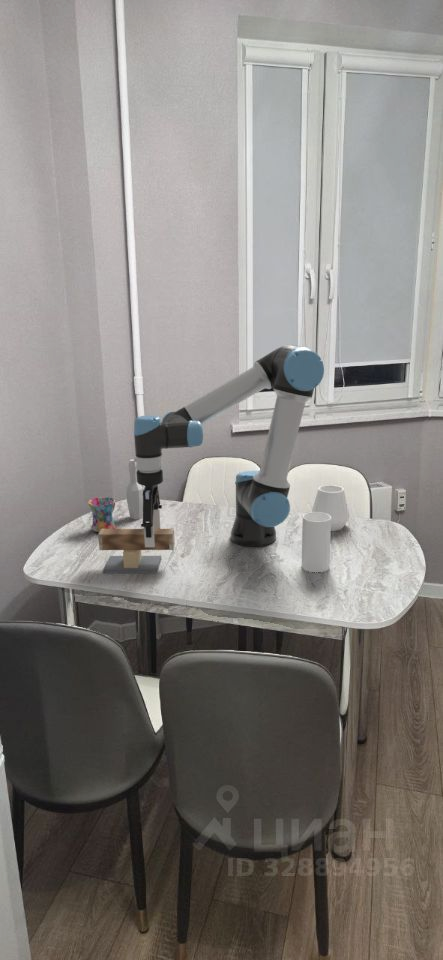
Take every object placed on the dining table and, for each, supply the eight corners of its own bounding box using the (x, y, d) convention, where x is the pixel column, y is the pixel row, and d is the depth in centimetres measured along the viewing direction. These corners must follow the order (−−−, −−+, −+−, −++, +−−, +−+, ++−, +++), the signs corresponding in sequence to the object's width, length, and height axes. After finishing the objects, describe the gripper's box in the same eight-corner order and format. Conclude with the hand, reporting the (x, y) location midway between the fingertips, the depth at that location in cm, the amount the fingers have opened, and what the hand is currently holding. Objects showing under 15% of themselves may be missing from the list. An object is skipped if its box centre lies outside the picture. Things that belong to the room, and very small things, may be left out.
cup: (312, 575, 179) (313, 523, 174) (296, 564, 186) (297, 514, 181) (334, 569, 182) (336, 518, 178) (318, 559, 189) (319, 510, 185)
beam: (174, 544, 187) (173, 528, 185) (173, 549, 182) (172, 533, 181) (102, 544, 187) (101, 528, 186) (99, 550, 183) (98, 534, 181)
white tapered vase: (352, 533, 210) (354, 494, 206) (312, 533, 210) (314, 494, 206) (345, 519, 222) (346, 482, 218) (308, 519, 223) (309, 483, 219)
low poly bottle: (125, 520, 225) (121, 462, 219) (130, 514, 231) (127, 457, 225) (142, 520, 224) (138, 462, 218) (146, 514, 230) (143, 458, 224)
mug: (106, 536, 211) (104, 506, 208) (84, 532, 215) (82, 503, 211) (126, 524, 221) (124, 496, 218) (105, 521, 225) (103, 493, 222)
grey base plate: (161, 559, 191) (160, 540, 189) (157, 573, 182) (156, 553, 180) (110, 559, 192) (108, 540, 190) (103, 573, 182) (101, 553, 180)
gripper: (143, 458, 190) (146, 523, 196) (129, 482, 166) (133, 554, 172) (167, 458, 189) (170, 523, 196) (156, 481, 166) (160, 554, 172)
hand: (153, 538), depth 184 cm, fingers open, 13 cm apart
